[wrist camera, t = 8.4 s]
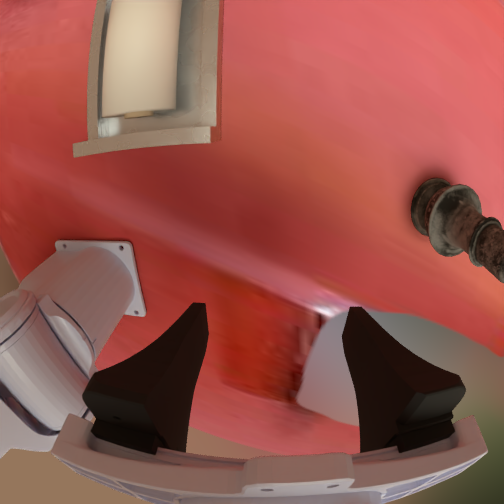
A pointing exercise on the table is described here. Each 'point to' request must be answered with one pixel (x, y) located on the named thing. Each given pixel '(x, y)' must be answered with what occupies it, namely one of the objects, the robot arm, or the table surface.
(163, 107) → the roll
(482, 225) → the rusty metal finial
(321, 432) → the table surface
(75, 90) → the table surface
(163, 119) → the cradle
